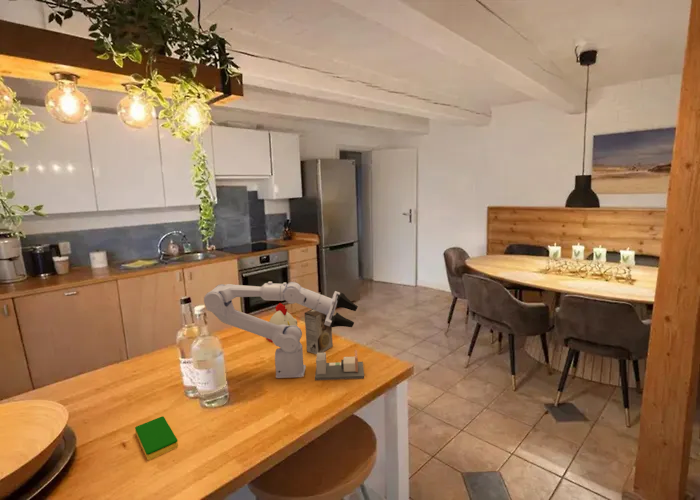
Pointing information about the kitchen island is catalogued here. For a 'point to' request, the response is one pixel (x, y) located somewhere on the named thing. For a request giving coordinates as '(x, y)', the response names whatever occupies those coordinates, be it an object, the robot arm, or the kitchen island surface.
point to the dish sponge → (156, 437)
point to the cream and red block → (350, 363)
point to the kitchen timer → (282, 317)
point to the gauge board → (335, 370)
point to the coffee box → (317, 332)
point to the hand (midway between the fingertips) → (354, 316)
